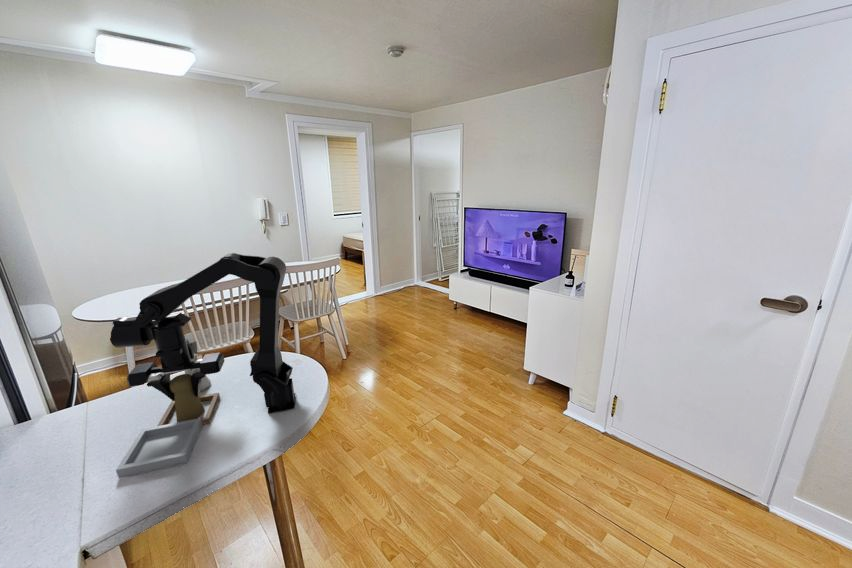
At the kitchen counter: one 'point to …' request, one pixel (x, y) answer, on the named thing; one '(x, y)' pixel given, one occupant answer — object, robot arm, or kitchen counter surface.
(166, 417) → the wooden picture frame
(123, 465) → the tray
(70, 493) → the kitchen counter surface
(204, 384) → the flask
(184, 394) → the cork
